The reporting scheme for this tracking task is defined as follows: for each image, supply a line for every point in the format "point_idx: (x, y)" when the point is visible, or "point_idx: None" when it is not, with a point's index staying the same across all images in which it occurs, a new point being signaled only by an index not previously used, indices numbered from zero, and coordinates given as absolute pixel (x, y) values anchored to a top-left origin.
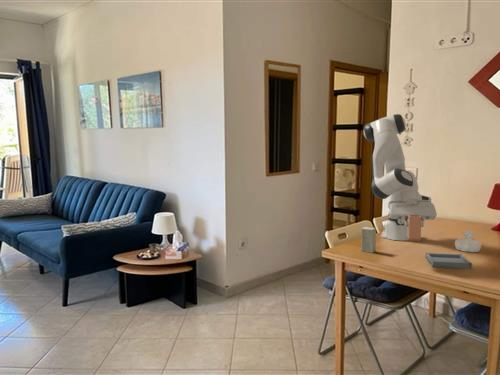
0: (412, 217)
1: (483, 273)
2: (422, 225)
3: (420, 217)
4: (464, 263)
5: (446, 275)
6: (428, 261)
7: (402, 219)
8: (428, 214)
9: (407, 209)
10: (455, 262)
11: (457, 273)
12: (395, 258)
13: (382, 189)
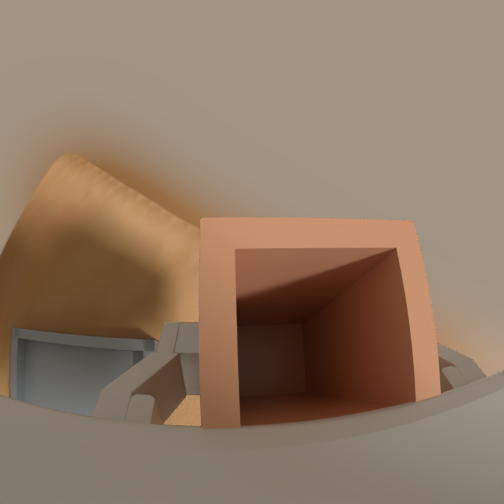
0: (366, 223)
1: (13, 281)
2: (182, 325)
3: (220, 222)
4: (33, 330)
5: (139, 239)
6: None
7: (455, 366)
8: (13, 413)
9: (496, 501)
10: (61, 336)
11: (90, 269)
12: None
13: None
